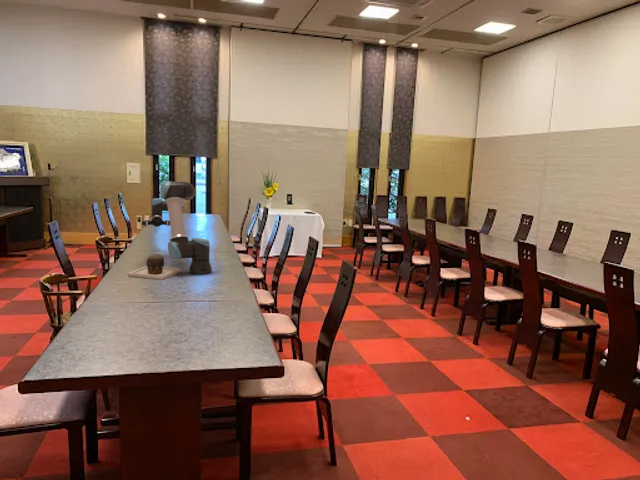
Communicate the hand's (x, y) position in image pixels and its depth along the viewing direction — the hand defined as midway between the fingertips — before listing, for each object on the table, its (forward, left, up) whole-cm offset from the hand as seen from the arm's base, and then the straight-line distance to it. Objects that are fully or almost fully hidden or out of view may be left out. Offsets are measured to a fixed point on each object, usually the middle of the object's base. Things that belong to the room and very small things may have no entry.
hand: (157, 224), depth 326 cm
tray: (-9, +19, -30) cm, 37 cm away
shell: (-9, +19, -29) cm, 36 cm away
